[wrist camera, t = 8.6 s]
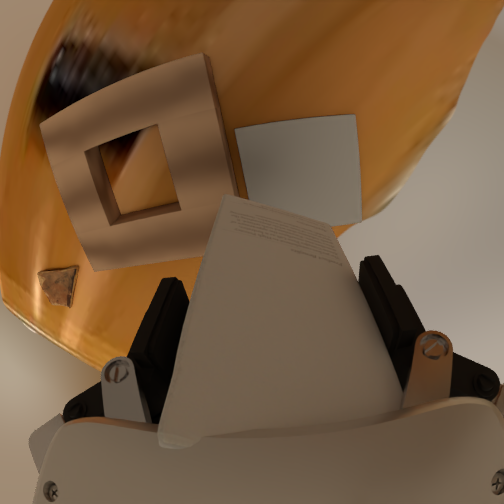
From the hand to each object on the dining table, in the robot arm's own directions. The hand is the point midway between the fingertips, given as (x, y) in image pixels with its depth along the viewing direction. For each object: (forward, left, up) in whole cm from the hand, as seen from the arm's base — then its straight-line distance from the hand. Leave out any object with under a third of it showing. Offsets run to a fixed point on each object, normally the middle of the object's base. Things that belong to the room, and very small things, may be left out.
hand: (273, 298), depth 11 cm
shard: (+9, -35, -20) cm, 42 cm away
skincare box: (0, 0, -5) cm, 5 cm away
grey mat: (+1, +4, -19) cm, 20 cm away
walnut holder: (-3, -13, -19) cm, 24 cm away
